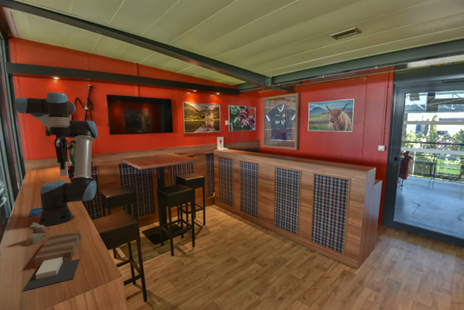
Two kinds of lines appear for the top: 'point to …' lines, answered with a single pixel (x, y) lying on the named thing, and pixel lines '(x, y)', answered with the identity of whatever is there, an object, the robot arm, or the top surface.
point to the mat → (63, 275)
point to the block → (49, 268)
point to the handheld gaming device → (35, 212)
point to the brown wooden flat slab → (58, 247)
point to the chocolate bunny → (36, 234)
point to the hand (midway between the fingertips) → (64, 175)
